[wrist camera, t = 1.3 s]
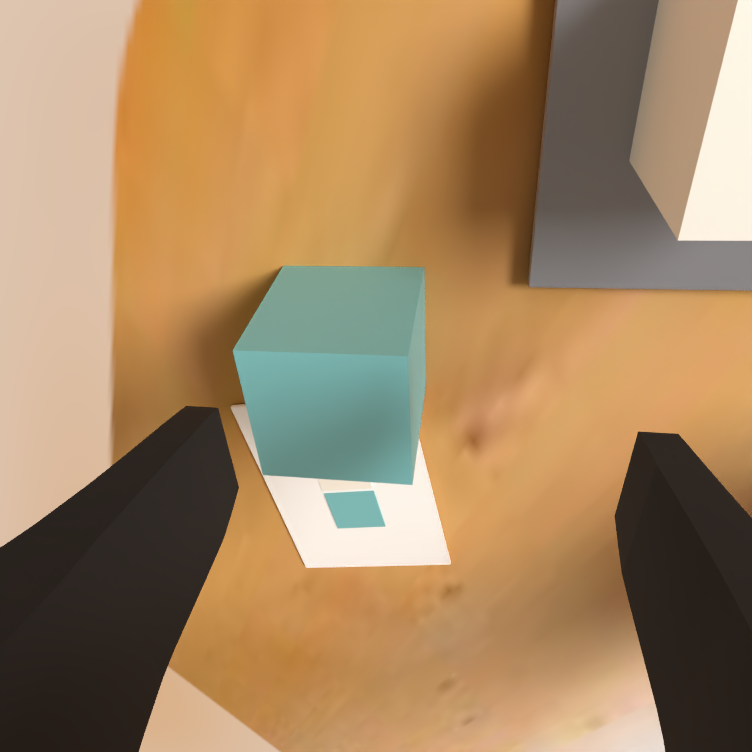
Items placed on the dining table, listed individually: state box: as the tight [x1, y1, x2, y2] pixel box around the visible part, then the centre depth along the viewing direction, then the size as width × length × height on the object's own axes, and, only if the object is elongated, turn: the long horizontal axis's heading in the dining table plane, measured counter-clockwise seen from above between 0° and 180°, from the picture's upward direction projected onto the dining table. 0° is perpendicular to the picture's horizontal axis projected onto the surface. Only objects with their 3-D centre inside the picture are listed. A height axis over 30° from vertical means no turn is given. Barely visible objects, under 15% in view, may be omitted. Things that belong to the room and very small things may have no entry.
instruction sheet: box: [231, 404, 451, 568], centre depth 25 cm, size 10×7×1 cm
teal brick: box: [233, 266, 426, 485], centre depth 19 cm, size 5×5×5 cm
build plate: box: [528, 0, 752, 290], centre depth 14 cm, size 12×9×1 cm
